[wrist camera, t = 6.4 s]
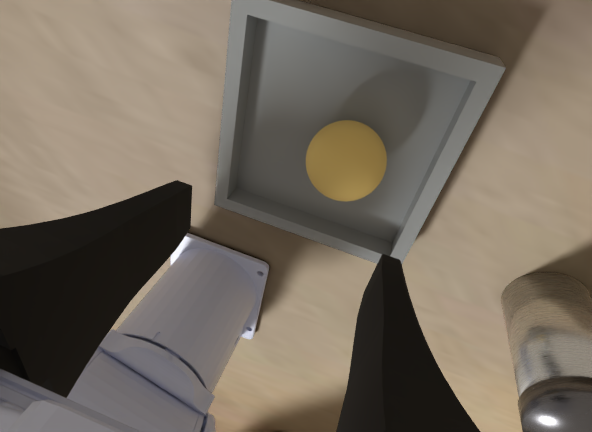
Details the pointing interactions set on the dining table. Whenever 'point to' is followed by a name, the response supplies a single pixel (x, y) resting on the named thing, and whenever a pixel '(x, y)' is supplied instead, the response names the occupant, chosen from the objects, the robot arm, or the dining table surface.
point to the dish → (342, 106)
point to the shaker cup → (551, 351)
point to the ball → (346, 160)
